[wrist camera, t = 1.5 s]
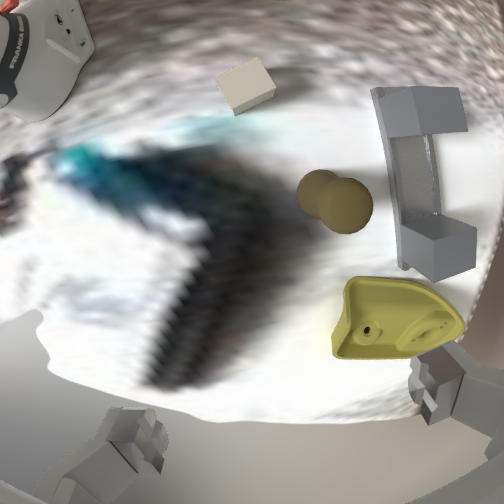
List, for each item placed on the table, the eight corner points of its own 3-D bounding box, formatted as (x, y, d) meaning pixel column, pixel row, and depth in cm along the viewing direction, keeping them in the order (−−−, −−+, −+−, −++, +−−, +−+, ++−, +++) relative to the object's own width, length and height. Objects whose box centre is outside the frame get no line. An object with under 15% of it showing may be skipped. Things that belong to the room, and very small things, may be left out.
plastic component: (328, 359, 39) (350, 321, 32) (325, 317, 45) (343, 274, 38) (438, 356, 39) (471, 322, 32) (428, 321, 44) (456, 283, 37)
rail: (370, 90, 30) (376, 87, 29) (413, 88, 30) (420, 86, 28) (397, 266, 37) (404, 271, 36) (436, 254, 37) (443, 258, 35)
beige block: (218, 89, 30) (214, 77, 26) (256, 70, 30) (257, 56, 25) (234, 116, 32) (232, 108, 27) (272, 97, 31) (276, 87, 26)
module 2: (399, 224, 34) (433, 240, 26) (441, 213, 34) (478, 227, 26) (402, 259, 36) (433, 283, 28) (443, 247, 35) (477, 266, 28)
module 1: (377, 99, 29) (410, 86, 22) (423, 97, 29) (460, 87, 21) (386, 138, 31) (421, 134, 23) (431, 133, 30) (469, 131, 23)
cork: (294, 171, 34) (315, 176, 23) (342, 167, 33) (381, 172, 23) (298, 220, 35) (320, 246, 25) (345, 216, 35) (383, 239, 25)
